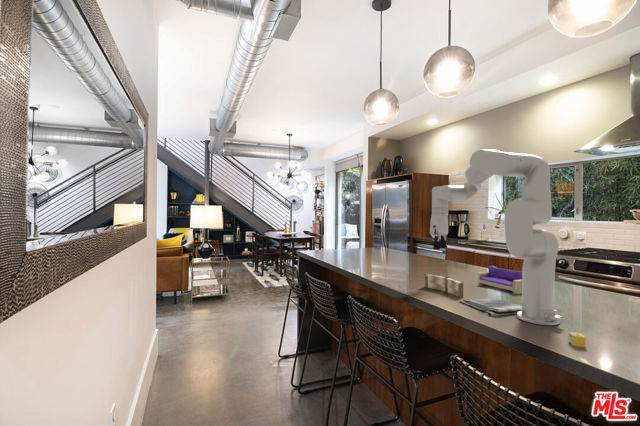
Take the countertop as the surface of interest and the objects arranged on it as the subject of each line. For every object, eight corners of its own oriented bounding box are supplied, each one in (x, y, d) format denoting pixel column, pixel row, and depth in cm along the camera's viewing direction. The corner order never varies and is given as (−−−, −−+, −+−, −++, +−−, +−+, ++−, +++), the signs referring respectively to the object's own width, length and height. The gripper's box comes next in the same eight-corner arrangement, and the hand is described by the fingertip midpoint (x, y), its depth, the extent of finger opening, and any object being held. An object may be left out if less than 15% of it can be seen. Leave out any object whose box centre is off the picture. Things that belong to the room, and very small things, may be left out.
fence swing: (445, 290, 152) (445, 276, 151) (444, 291, 150) (444, 277, 150) (426, 286, 159) (426, 273, 159) (424, 287, 158) (424, 274, 158)
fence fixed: (463, 298, 140) (463, 282, 140) (460, 298, 139) (460, 282, 139) (447, 291, 151) (447, 276, 151) (444, 291, 151) (444, 276, 151)
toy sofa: (476, 285, 166) (476, 265, 165) (488, 284, 169) (488, 264, 169) (515, 295, 146) (515, 273, 146) (528, 294, 150) (528, 271, 150)
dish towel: (492, 301, 139) (492, 293, 139) (530, 314, 122) (530, 305, 122) (456, 304, 133) (456, 297, 133) (491, 319, 116) (491, 310, 116)
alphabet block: (580, 343, 94) (580, 332, 94) (585, 347, 91) (586, 336, 91) (568, 342, 95) (568, 331, 95) (573, 346, 92) (573, 335, 92)
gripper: (441, 211, 167) (441, 246, 168) (423, 211, 156) (423, 249, 156) (455, 211, 162) (455, 248, 162) (438, 211, 151) (438, 251, 151)
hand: (439, 248), depth 159 cm, fingers open, 4 cm apart
